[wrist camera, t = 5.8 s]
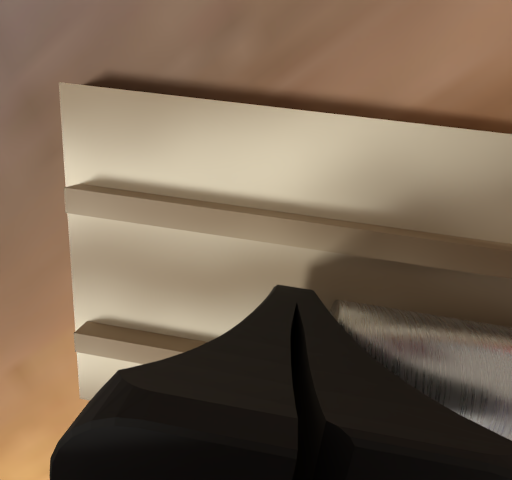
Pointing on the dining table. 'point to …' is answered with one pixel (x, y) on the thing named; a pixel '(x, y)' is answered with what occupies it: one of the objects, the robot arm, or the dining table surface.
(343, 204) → the collar rig
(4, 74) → the dining table surface
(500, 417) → the tube
